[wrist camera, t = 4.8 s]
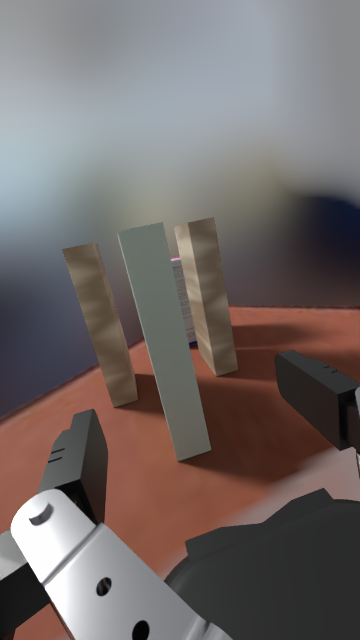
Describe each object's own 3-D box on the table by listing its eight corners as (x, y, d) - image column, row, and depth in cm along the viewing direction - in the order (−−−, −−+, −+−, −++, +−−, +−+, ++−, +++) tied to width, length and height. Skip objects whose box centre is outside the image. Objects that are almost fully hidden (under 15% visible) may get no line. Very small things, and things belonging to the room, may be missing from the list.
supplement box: (223, 337, 37) (208, 252, 34) (181, 349, 36) (162, 262, 33) (208, 326, 43) (194, 251, 39) (171, 336, 41) (154, 261, 38)
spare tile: (177, 461, 18) (117, 231, 14) (163, 411, 24) (117, 236, 20) (211, 450, 19) (162, 222, 14) (189, 403, 24) (150, 229, 20)
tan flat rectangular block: (113, 407, 26) (62, 249, 22) (114, 379, 32) (73, 248, 28) (138, 400, 27) (92, 242, 22) (134, 373, 32) (97, 243, 28)
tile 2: (216, 376, 28) (187, 222, 23) (200, 354, 33) (174, 227, 29) (238, 369, 28) (213, 217, 24) (218, 349, 34) (195, 223, 29)
